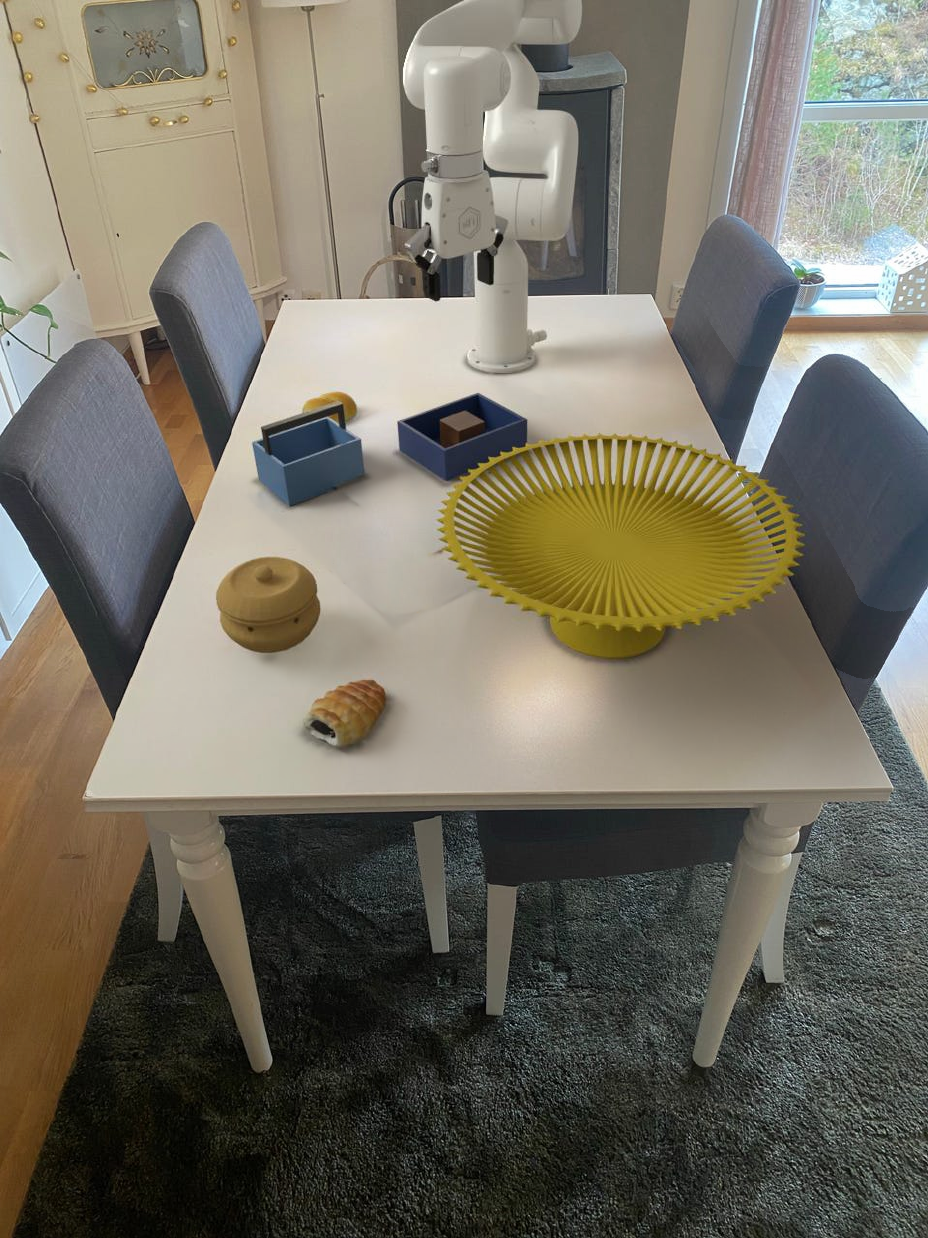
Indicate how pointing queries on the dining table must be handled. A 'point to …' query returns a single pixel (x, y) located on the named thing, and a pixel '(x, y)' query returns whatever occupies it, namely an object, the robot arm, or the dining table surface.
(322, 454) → the upper bin
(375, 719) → the pastry
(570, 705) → the dining table surface
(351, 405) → the bread roll
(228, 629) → the pot
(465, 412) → the block
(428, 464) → the lower bin
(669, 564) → the yellow fruit bowl
